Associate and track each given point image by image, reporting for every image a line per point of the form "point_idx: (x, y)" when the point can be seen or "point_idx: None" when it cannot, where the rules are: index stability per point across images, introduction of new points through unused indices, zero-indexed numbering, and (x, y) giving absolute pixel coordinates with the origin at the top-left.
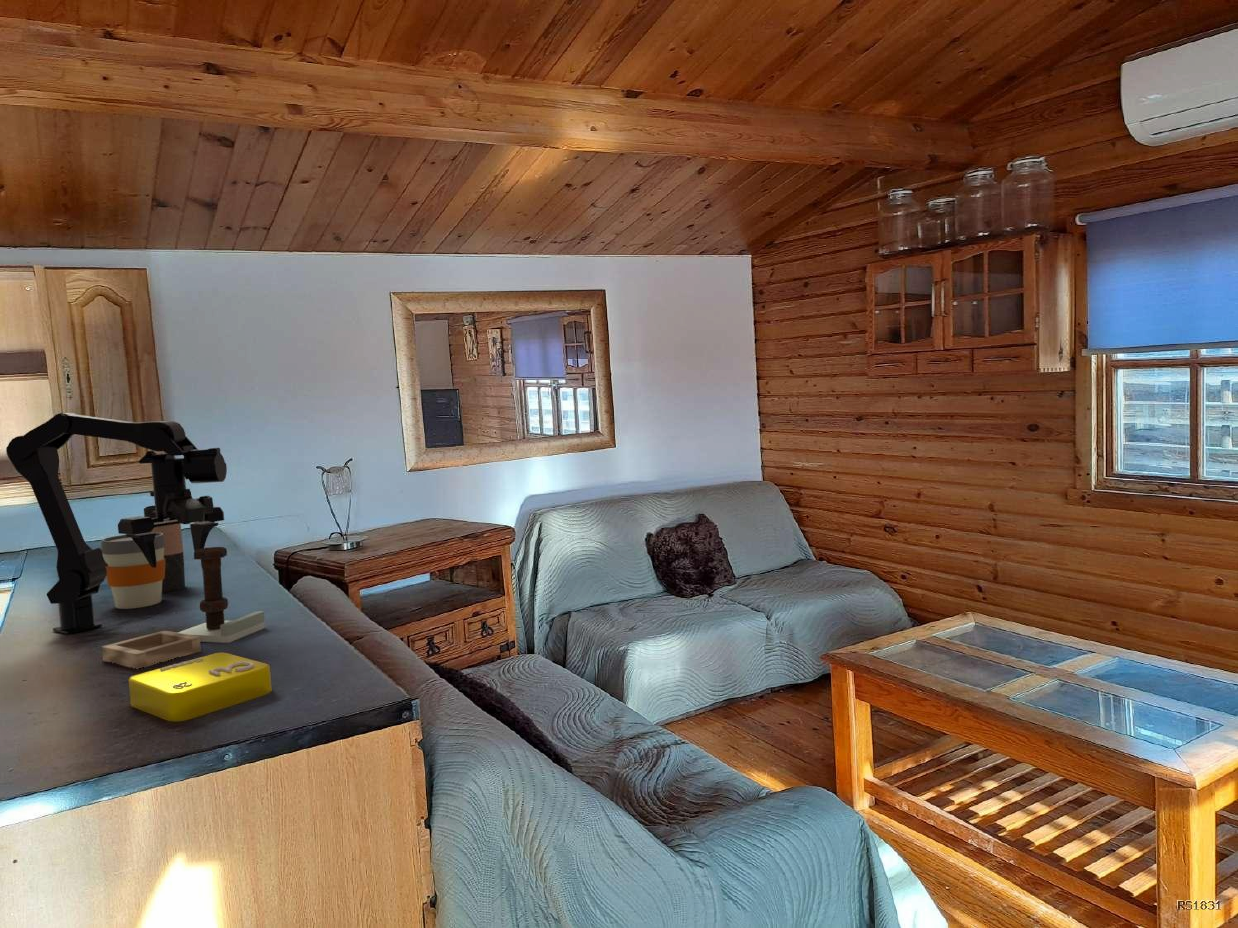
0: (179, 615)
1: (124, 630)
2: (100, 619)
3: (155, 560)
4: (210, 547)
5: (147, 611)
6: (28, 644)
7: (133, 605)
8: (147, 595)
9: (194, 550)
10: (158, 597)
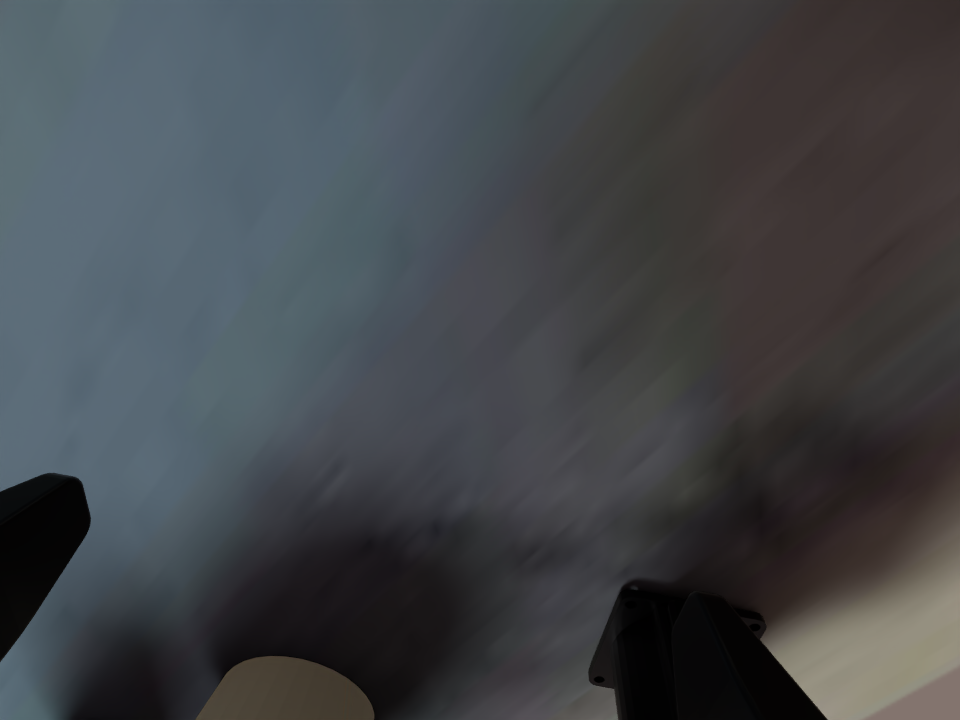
0: (360, 423)
1: (664, 453)
2: (522, 669)
3: (751, 671)
4: None
5: (365, 604)
6: (914, 641)
7: (348, 690)
8: (288, 701)
9: (7, 643)
10: (244, 677)
